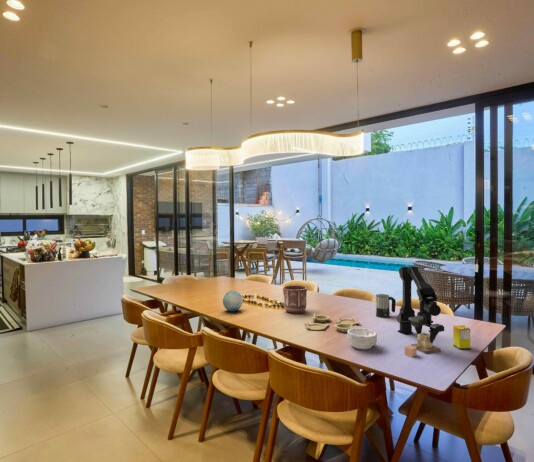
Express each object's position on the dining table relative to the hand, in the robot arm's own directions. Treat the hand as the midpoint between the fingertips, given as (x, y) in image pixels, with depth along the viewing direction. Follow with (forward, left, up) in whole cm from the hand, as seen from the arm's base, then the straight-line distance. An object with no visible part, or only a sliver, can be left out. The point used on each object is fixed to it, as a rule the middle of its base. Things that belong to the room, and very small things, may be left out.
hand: (425, 340), depth 177 cm
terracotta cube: (+3, -13, -5) cm, 14 cm away
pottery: (-93, -29, -5) cm, 98 cm away
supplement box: (+6, +19, -5) cm, 21 cm away
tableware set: (-54, -22, -5) cm, 59 cm away
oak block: (0, 0, -3) cm, 3 cm away
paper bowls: (-16, -28, -5) cm, 33 cm away
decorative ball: (-113, -71, -5) cm, 133 cm away
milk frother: (-61, +24, -5) cm, 65 cm away
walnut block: (0, 0, -5) cm, 5 cm away
